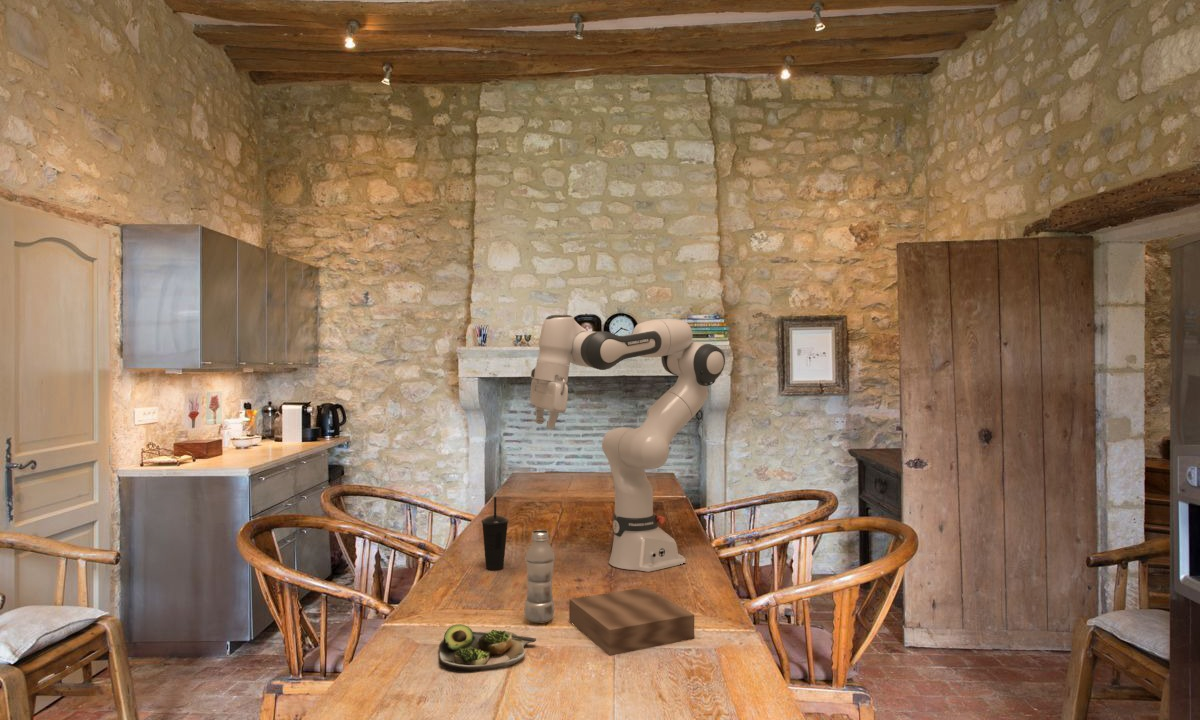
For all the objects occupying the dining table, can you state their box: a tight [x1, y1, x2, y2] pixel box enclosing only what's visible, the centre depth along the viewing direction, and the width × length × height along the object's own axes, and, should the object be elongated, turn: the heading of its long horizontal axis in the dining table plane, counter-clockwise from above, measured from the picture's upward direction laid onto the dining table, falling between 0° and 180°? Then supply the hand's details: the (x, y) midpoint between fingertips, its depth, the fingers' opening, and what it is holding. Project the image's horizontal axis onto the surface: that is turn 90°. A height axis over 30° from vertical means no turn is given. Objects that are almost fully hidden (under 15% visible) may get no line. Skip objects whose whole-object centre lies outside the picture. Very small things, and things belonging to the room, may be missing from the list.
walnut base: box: [568, 586, 695, 656], centre depth 150 cm, size 20×20×5 cm
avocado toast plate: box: [438, 623, 537, 673], centre depth 138 cm, size 19×18×5 cm
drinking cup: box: [481, 496, 510, 572], centre depth 195 cm, size 8×8×20 cm
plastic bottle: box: [523, 529, 556, 624], centre depth 155 cm, size 6×7×20 cm
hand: (544, 426), depth 184 cm, fingers open, 8 cm apart
